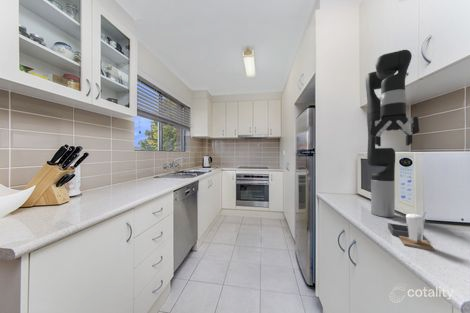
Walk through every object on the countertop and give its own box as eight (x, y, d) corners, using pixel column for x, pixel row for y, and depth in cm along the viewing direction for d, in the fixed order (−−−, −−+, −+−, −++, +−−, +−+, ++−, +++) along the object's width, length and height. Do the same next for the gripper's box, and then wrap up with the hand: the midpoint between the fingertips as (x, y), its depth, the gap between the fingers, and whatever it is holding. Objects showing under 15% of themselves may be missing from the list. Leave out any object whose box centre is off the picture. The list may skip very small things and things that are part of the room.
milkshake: (432, 245, 58) (432, 214, 58) (412, 244, 59) (412, 213, 59) (420, 239, 62) (420, 210, 62) (402, 238, 63) (402, 209, 63)
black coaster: (388, 227, 74) (388, 223, 74) (415, 232, 70) (415, 227, 70) (392, 235, 67) (392, 229, 67) (423, 240, 63) (423, 234, 63)
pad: (398, 237, 65) (398, 235, 65) (426, 241, 62) (426, 240, 62) (404, 245, 59) (404, 243, 59) (434, 251, 56) (434, 249, 56)
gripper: (414, 103, 71) (414, 145, 70) (369, 108, 78) (369, 146, 78) (421, 98, 64) (421, 144, 64) (371, 104, 71) (371, 146, 71)
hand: (392, 145), depth 71 cm, fingers open, 8 cm apart
